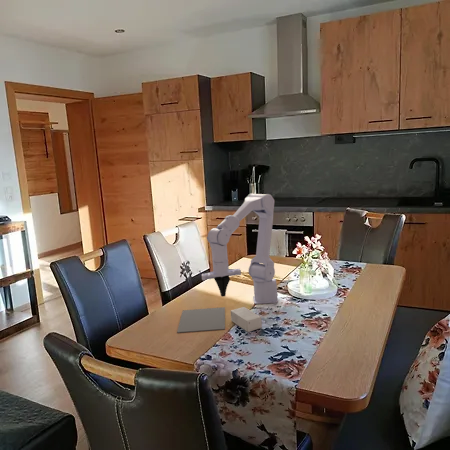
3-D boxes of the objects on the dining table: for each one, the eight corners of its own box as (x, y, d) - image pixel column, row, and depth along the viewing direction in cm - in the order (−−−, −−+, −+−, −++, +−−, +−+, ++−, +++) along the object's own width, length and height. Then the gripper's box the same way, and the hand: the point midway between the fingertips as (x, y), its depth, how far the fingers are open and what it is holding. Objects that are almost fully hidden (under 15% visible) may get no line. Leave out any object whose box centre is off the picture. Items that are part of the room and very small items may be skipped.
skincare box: (230, 321, 155) (247, 332, 144) (230, 310, 154) (246, 320, 143) (245, 317, 157) (262, 327, 147) (244, 306, 157) (261, 316, 146)
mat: (224, 307, 168) (224, 307, 168) (224, 329, 148) (224, 328, 148) (182, 311, 168) (182, 310, 168) (177, 332, 148) (177, 332, 148)
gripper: (236, 255, 159) (238, 289, 162) (199, 260, 156) (202, 295, 159) (241, 259, 152) (243, 295, 155) (202, 265, 149) (205, 301, 152)
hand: (223, 295), depth 156 cm, fingers closed
